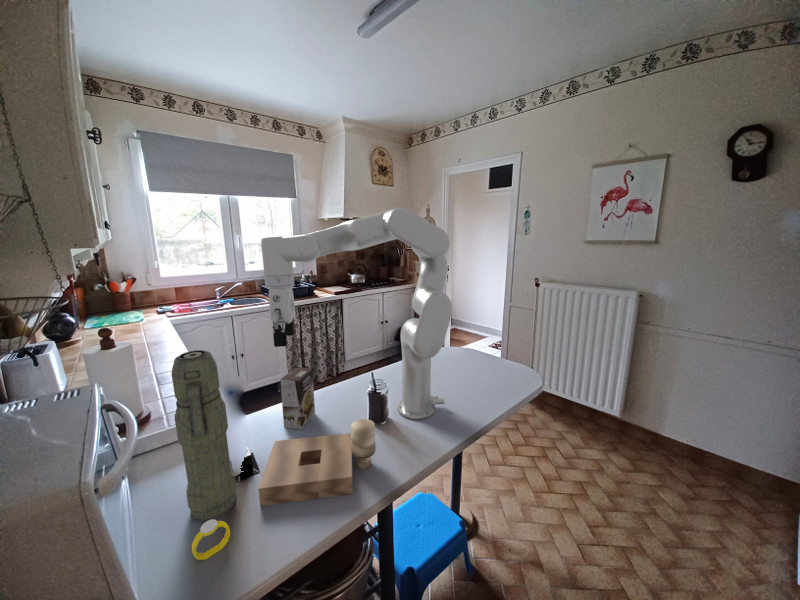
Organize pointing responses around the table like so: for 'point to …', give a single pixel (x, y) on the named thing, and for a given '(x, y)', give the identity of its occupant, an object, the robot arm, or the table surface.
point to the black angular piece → (248, 467)
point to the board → (307, 469)
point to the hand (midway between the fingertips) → (284, 340)
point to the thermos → (203, 435)
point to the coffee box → (297, 397)
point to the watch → (206, 530)
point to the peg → (363, 442)
